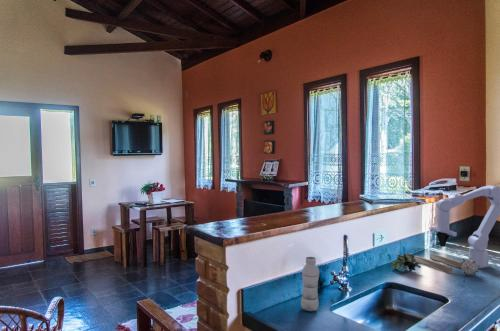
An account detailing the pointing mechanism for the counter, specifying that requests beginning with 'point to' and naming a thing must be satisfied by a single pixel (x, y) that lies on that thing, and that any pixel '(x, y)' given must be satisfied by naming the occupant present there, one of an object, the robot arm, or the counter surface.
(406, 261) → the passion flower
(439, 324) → the counter surface
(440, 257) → the chute
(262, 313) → the counter surface
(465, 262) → the beige textured ball
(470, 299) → the counter surface
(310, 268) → the plastic bottle
